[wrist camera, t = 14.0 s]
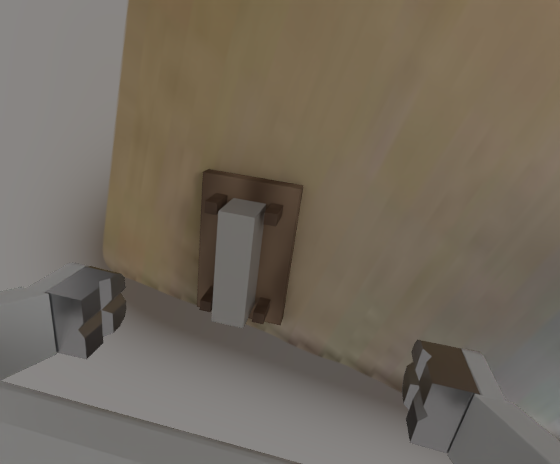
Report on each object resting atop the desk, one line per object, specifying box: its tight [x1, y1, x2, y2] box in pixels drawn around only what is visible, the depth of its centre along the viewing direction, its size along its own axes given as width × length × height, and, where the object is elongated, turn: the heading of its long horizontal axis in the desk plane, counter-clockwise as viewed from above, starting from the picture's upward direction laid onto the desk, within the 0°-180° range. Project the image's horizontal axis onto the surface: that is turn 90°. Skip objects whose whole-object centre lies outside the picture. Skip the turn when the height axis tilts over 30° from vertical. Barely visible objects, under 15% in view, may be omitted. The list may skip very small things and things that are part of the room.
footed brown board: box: [197, 169, 303, 325], centre depth 38 cm, size 10×16×4 cm, turn 173°
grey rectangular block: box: [211, 198, 266, 328], centre depth 36 cm, size 3×12×4 cm, turn 173°
